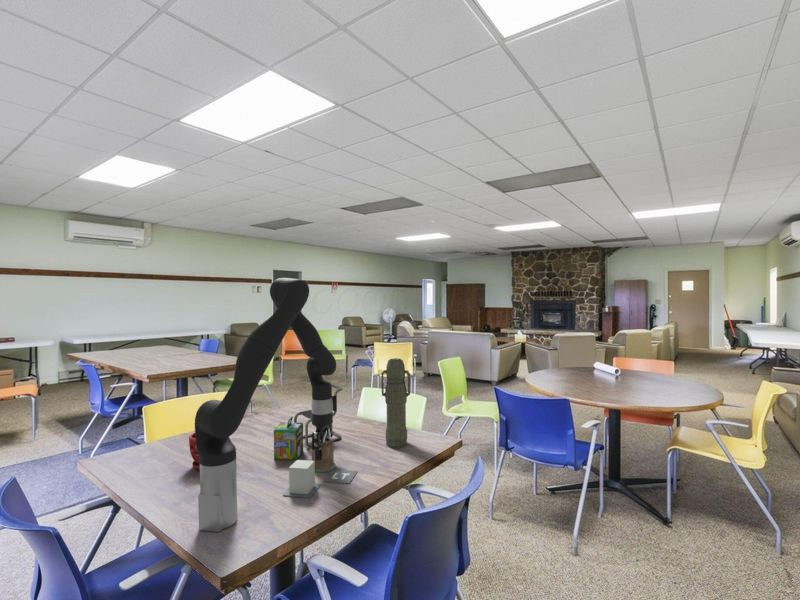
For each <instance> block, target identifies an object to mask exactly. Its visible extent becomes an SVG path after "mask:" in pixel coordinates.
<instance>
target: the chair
mask: <svg viewBox="0 0 800 600" xmlns="http://www.w3.org/2000/svg"><path fill="white" fill-rule="evenodd" d="M331 385H332V388H334V389H336V390H335V391H334V392H333V395H332V402H333V417H334V416H335V415H336V414H337V411H338V405H337V404H338V398H337V397H338V396H337V395H338V393H339V392H341V391H343V388H342V387H341V386H338V385H335V384H334V383H333V384H332V383H331ZM299 416H304V417H305V418H307V419H308V420H307V421H306V422H305V426H304V427H305V428H304V429H305V430H304V432H305V433H304V434H305V435H304V434H303V439H305V445H306V446H307V447H309V448H312V447H311V446H312V443H310V442H309V438H310V437H311V438H312V433H310V434H309V424H310V423H312V409H308V410H304V411H299V412H297V413H296V414H295V415H294V416H293V417H294V419H293V423H298V421H297V419H298V417H299ZM333 436H335V438H331V440H330V441H333V443H334V442H337V441H340V440H341V439H342V436H341V435H340V434H338V433H337V432H335V431H333Z"/></svg>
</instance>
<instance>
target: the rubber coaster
mask: <svg viewBox="0 0 800 600" xmlns="http://www.w3.org/2000/svg"><path fill="white" fill-rule="evenodd" d="M336 464H337V463H335V462H334V463H333V464H332V466H331V467H330V468H329V469H328V470H323V469H315V473H326V472H331V471H332V470H335V468H336V466H337V465H336Z"/></svg>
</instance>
